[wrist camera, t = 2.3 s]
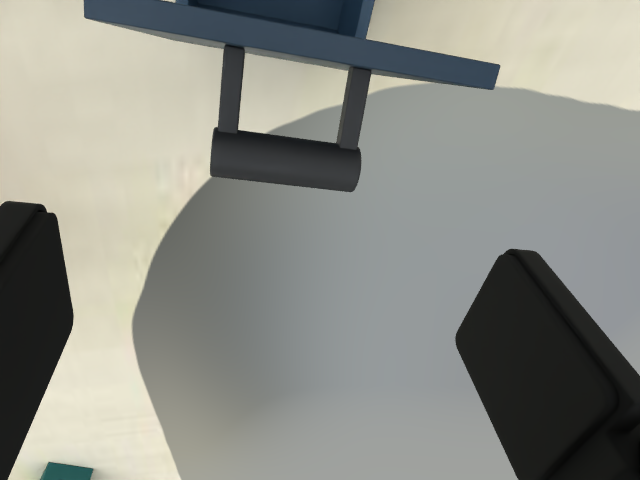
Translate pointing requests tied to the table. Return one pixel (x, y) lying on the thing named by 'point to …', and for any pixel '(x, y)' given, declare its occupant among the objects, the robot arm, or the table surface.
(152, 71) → the table surface
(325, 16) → the box
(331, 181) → the lunchbox lid
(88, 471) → the bracket
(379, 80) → the table surface
